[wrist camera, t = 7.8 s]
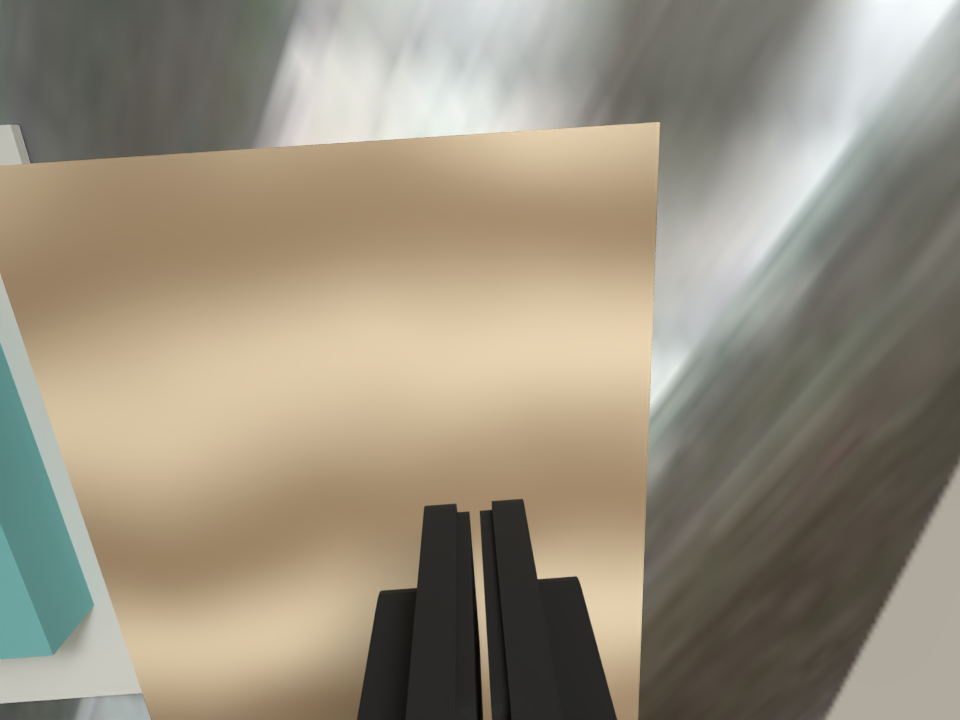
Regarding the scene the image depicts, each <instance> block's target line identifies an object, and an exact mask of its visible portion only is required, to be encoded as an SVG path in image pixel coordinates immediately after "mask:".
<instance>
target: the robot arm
mask: <svg viewBox="0 0 960 720" xmlns="http://www.w3.org/2000/svg"><path fill="white" fill-rule="evenodd" d="M480 526H481V543H482V561H483V578H484V595H485V612H486V629H487V646H488V663H489V680H490V697H491V713H492V720H617V717H616V713H615V710H614V706H613V702H612V699H611V695H610V691H609V687H608V684H607V680H606V676H605V673H604V669H603V665H602V662H601V658H600V654H599V651H598V647H597V643H596V640H595V636H594V632H593V628H592V625H591V621H590V617H589V614H588V610H587V606H586V603H585V599H584V595H583V592H582V588H581V585H580V582H579V579H578V578H577V576H574V577H561V578H547V579H538V578H537V573H536V567H535V561H534V556H533V550H532V545H531V539H530V533H529V528H528V522H527V517H526V511H525V505H524V501H523V499H513V500H499V501H492V510H481V511H480ZM357 720H483V703H482V681H481V658H480V639H479V625H478V613H477V600H476V587H475V575H474V562H473V549H472V537H471V524H470V512H469V511H467V512H457V504H442V505H428V506H425V507H424V513H423V525H422V536H421V548H420V559H419V570H418V582H417V588H410V589H396V590H382V591H380V593H379V595H378V599H377V604H376V610H375V616H374V622H373V628H372V634H371V640H370V645H369V651H368V657H367V663H366V669H365V675H364V681H363V687H362V693H361V698H360V704H359V710H358V716H357Z"/></svg>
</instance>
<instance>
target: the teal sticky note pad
mask: <svg viewBox="0 0 960 720" xmlns="http://www.w3.org/2000/svg"><path fill="white" fill-rule="evenodd" d="M93 606H94V603H93V600H92V597H91V594H90V592H89V589H88V586H87V583H86V580H85V578H84V575H83V572H82V569H81V566H80V564H79V561H78V558H77V555H76V553H75V550H74V547H73V544H72V541H71V539H70V536H69V533H68V530H67V527H66V525H65V522H64V519H63V516H62V513H61V511H60V508H59V505H58V502H57V499H56V497H55V494H54V491H53V488H52V486H51V483H50V480H49V477H48V474H47V472H46V469H45V466H44V463H43V460H42V458H41V455H40V452H39V449H38V446H37V444H36V441H35V438H34V435H33V432H32V430H31V427H30V424H29V421H28V419H27V416H26V413H25V410H24V407H23V405H22V402H21V399H20V396H19V393H18V391H17V388H16V385H15V382H14V379H13V377H12V374H11V371H10V368H9V365H8V363H7V360H6V357H5V354H4V352H3V349H2V346H1V343H0V659H13V658H26V657H39V656H52V655H54V654H55V653H56V651H57V650H58V649H59V648H60V647H61V645H62V644H63V643H64V642H65V640H66V639H67V638H68V637H69V636H70V634H71V633H72V632H73V631H74V629H75V628H76V627H77V626H78V624H79V623H80V622H81V621H82V620H83V618H84V617H85V616H86V615H87V613H88V612H89V611H90V610H91V608H92V607H93Z"/></svg>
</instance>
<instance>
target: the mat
mask: <svg viewBox="0 0 960 720" xmlns="http://www.w3.org/2000/svg"><path fill="white" fill-rule="evenodd" d="M17 164H31V163H30V160H29V157H28V153H27V150H26V147H25V143H24V140H23V137H22V133H21V130H20V127H19V125H0V166H1V165H17ZM0 343H1V346H2V349H3V352H4V354H5V357H6V360H7V363H8V365H9V368H10V371H11V374H12V377H13V379H14V382H15V385H16V388H17V391H18V393H19V396H20V399H21V402H22V405H23V407H24V410H25V413H26V416H27V419H28V421H29V424H30V427H31V430H32V432H33V435H34V438H35V441H36V444H37V446H38V449H39V452H40V455H41V458H42V460H43V463H44V466H45V469H46V472H47V474H48V477H49V480H50V483H51V486H52V488H53V491H54V494H55V497H56V499H57V502H58V505H59V508H60V511H61V513H62V516H63V519H64V522H65V525H66V527H67V530H68V533H69V536H70V539H71V541H72V544H73V547H74V550H75V553H76V555H77V558H78V561H79V564H80V566H81V569H82V572H83V575H84V578H85V580H86V583H87V586H88V589H89V592H90V594H91V597H92V600H93V603H94V606H93V607H92V608H91V610H90V611H89V612H88V613H87V615H86V616H85V617H84V618H83V620H82V621H81V622H80V623H79V624H78V626H77V627H76V628H75V629H74V631H73V632H72V633H71V634H70V636H69V637H68V638H67V639H66V640H65V642H64V643H63V644H62V645H61V647H60V648H59V649H58V650H57V651H56V653H55V654H54V655H52V656H39V657H26V658H13V659H0V703H13V702H27V701H41V700H55V699H69V698H82V697H96V696H110V695H124V694H138V693H142V691H141V688H140V685H139V682H138V679H137V676H136V673H135V670H134V667H133V664H132V661H131V658H130V655H129V652H128V649H127V646H126V643H125V641H124V638H123V635H122V632H121V629H120V626H119V623H118V620H117V617H116V614H115V611H114V608H113V605H112V602H111V599H110V596H109V593H108V590H107V587H106V584H105V581H104V579H103V576H102V573H101V570H100V567H99V564H98V561H97V558H96V555H95V552H94V549H93V546H92V543H91V540H90V537H89V534H88V531H87V528H86V525H85V522H84V519H83V517H82V514H81V511H80V508H79V505H78V502H77V499H76V496H75V493H74V490H73V487H72V484H71V481H70V478H69V475H68V472H67V469H66V466H65V463H64V460H63V457H62V454H61V452H60V449H59V446H58V443H57V440H56V437H55V434H54V431H53V428H52V425H51V422H50V419H49V416H48V413H47V410H46V407H45V404H44V401H43V398H42V395H41V392H40V390H39V387H38V384H37V381H36V378H35V375H34V372H33V369H32V366H31V363H30V360H29V357H28V354H27V351H26V348H25V345H24V342H23V339H22V336H21V333H20V330H19V328H18V325H17V322H16V319H15V316H14V313H13V310H12V307H11V304H10V301H9V298H8V295H7V292H6V289H5V286H4V283H3V280H2V277H1V274H0Z"/></svg>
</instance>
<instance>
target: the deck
mask: <svg viewBox="0 0 960 720" xmlns="http://www.w3.org/2000/svg"><path fill="white" fill-rule="evenodd" d="M659 140H660V122H652V123H637V124H622V125H607V126H591V127H576V128H561V129H546V130H531V131H516V132H501V133H486V134H470V135H455V136H440V137H425V138H410V139H395V140H380V141H364V142H349V143H334V144H319V145H304V146H289V147H274V148H259V149H243V150H228V151H213V152H198V153H183V154H168V155H153V156H138V157H122V158H107V159H92V160H77V161H62V162H47V163H32V164H17V165H1V166H0V274H1V277H2V280H3V283H4V286H5V289H6V292H7V295H8V298H9V301H10V304H11V307H12V310H13V313H14V316H15V319H16V322H17V325H18V328H19V330H20V333H21V336H22V339H23V342H24V345H25V348H26V351H27V354H28V357H29V360H30V363H31V366H32V369H33V372H34V375H35V378H36V381H37V384H38V387H39V390H40V392H41V395H42V398H43V401H44V404H45V407H46V410H47V413H48V416H49V419H50V422H51V425H52V428H53V431H54V434H55V437H56V440H57V443H58V446H59V449H60V452H61V454H62V457H63V460H64V463H65V466H66V469H67V472H68V475H69V478H70V481H71V484H72V487H73V490H74V493H75V496H76V499H77V502H78V505H79V508H80V511H81V514H82V517H83V519H84V522H85V525H86V528H87V531H88V534H89V537H90V540H91V543H92V546H93V549H94V552H95V555H96V558H97V561H98V564H99V567H100V570H101V573H102V576H103V579H104V581H105V584H106V587H107V590H108V593H109V596H110V599H111V602H112V605H113V608H114V611H115V614H116V617H117V620H118V623H119V626H120V629H121V632H122V635H123V638H124V641H125V643H126V646H127V649H128V652H129V655H130V658H131V661H132V664H133V667H134V670H135V673H136V676H137V679H138V682H139V685H140V688H141V691H142V694H143V697H144V700H145V703H146V705H147V708H148V711H149V714H150V717H151V720H357V716H358V710H359V704H360V698H361V693H362V687H363V681H364V675H365V669H366V663H367V657H368V651H369V645H370V640H371V634H372V628H373V622H374V616H375V610H376V604H377V599H378V595H379V593H380V591H382V590H396V589H410V588H417V582H418V570H419V559H420V548H421V536H422V525H423V513H424V507H425V506H428V505H442V504H457V512H467V511H469V512H470V524H471V537H472V549H473V562H474V575H475V587H476V600H477V613H478V625H479V639H480V658H481V681H482V703H483V720H492V713H491V697H490V680H489V663H488V646H487V629H486V612H485V595H484V578H483V561H482V543H481V526H480V511H481V510H492V501H499V500H513V499H523V501H524V505H525V511H526V517H527V522H528V528H529V533H530V539H531V545H532V550H533V556H534V561H535V567H536V573H537V578H538V579H547V578H561V577H574V576H577V578H578V579H579V582H580V585H581V588H582V592H583V595H584V599H585V603H586V606H587V610H588V614H589V617H590V621H591V625H592V628H593V632H594V636H595V640H596V643H597V647H598V651H599V654H600V658H601V662H602V665H603V669H604V673H605V676H606V680H607V684H608V687H609V691H610V695H611V699H612V702H613V706H614V710H615V713H616V717H617V720H638V704H639V677H640V650H641V623H642V596H643V569H644V542H645V516H646V489H647V462H648V435H649V408H650V381H651V355H652V328H653V301H654V274H655V247H656V220H657V193H658V167H659Z"/></svg>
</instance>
